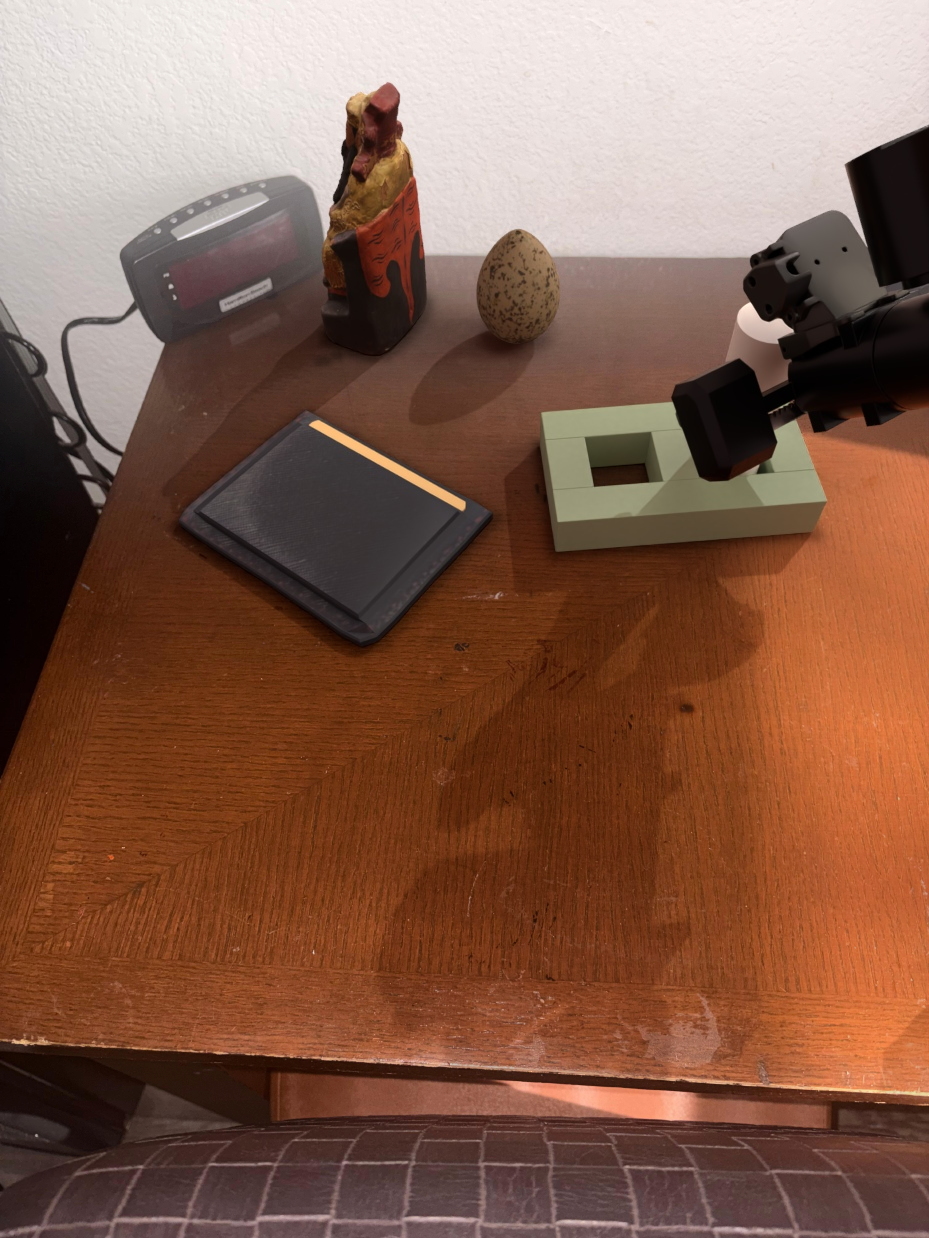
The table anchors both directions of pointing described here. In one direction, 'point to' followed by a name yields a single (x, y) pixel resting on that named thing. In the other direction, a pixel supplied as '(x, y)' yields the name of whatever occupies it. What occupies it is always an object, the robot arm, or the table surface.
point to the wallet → (335, 526)
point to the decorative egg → (518, 288)
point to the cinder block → (666, 483)
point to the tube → (759, 350)
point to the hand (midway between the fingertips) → (731, 392)
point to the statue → (374, 232)
